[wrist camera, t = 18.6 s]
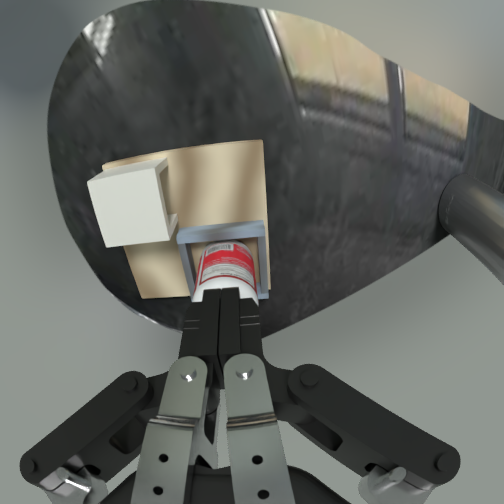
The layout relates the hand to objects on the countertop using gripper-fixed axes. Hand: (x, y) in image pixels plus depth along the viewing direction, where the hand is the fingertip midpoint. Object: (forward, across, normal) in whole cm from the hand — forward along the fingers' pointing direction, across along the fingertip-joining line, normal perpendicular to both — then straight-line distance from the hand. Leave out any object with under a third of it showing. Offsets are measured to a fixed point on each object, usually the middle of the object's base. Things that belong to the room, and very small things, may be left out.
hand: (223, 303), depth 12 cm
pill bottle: (+18, +1, +9) cm, 20 cm away
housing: (+18, +10, 0) cm, 20 cm away
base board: (+19, +5, +5) cm, 20 cm away
